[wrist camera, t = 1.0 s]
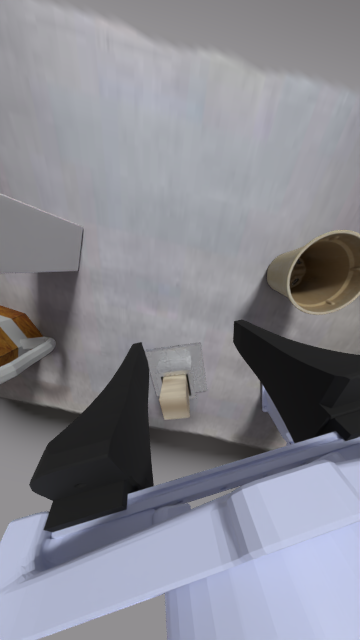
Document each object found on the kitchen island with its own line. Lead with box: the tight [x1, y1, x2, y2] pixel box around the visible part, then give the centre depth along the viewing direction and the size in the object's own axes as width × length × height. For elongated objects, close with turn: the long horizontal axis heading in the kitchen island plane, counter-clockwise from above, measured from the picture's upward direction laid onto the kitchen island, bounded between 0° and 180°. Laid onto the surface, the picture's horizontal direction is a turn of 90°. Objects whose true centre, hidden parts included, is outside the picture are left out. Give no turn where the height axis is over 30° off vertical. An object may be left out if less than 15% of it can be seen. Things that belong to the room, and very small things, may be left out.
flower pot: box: [267, 230, 360, 315], centre depth 22 cm, size 9×9×9 cm
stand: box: [145, 342, 207, 399], centre depth 31 cm, size 11×11×5 cm
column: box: [159, 374, 190, 420], centre depth 28 cm, size 4×4×9 cm
